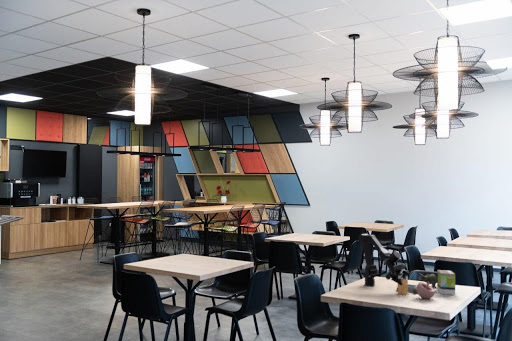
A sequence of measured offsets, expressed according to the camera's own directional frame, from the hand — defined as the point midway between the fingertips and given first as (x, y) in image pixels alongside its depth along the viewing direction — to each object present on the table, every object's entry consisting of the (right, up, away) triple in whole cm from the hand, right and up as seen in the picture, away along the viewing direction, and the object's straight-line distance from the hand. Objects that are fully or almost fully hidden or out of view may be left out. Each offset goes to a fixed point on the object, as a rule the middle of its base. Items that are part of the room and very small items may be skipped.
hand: (404, 284), depth 332 cm
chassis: (+8, -7, +12) cm, 16 cm away
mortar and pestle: (+11, -6, -13) cm, 18 cm away
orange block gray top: (-1, -7, +1) cm, 7 cm away
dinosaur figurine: (+28, -8, +23) cm, 37 cm away
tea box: (+32, -7, +7) cm, 34 cm away
